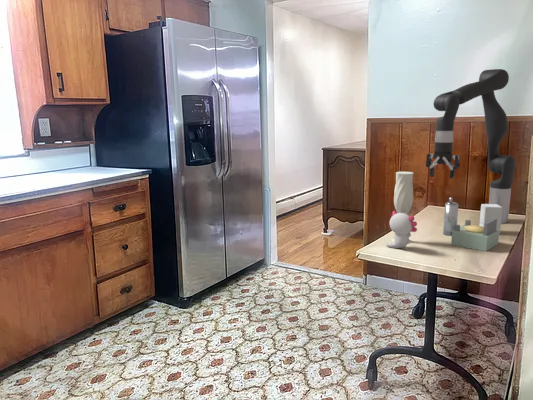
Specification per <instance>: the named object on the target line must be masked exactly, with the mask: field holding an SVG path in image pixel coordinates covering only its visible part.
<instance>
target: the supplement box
mask: <svg viewBox="0 0 533 400" xmlns="http://www.w3.org/2000/svg"><path fill="white" fill-rule="evenodd" d="M494 218H496V219H497V226H496V229H497V230H499V235H500V234H501V230H502V229H501V228H502V227H501V226H502V223H501V218H502V207H501V206H499V205H498V204H489V203H481V205H480V214H479V224H478V226H482V227H484V223H486V222H488V221H490V220H492V219H494Z"/></svg>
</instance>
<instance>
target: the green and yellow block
mask: <svg viewBox="0 0 533 400" xmlns="http://www.w3.org/2000/svg"><path fill="white" fill-rule="evenodd" d="M496 226H497V219H496V218H494V219H492V220H490V221H488V222H486V223H484V227H482V226H479V225H473V224H472V225H471V219H465V220H464V224H463V225H460V224H458V223H457V224H456V225H455V230H453V231H452V236H451V240H450V241H451V242H450V244H451V245H452V246H457V247H463V248H466V249H467V248H468V249H471V248H472V249H473V250H476V249H478V250H477V251H481V250H482V252H487V251H489V250H491V249H492V248H494V247H495V246H496V245H498V244H499V239H500V234H499V230H497V229H496Z"/></svg>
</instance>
